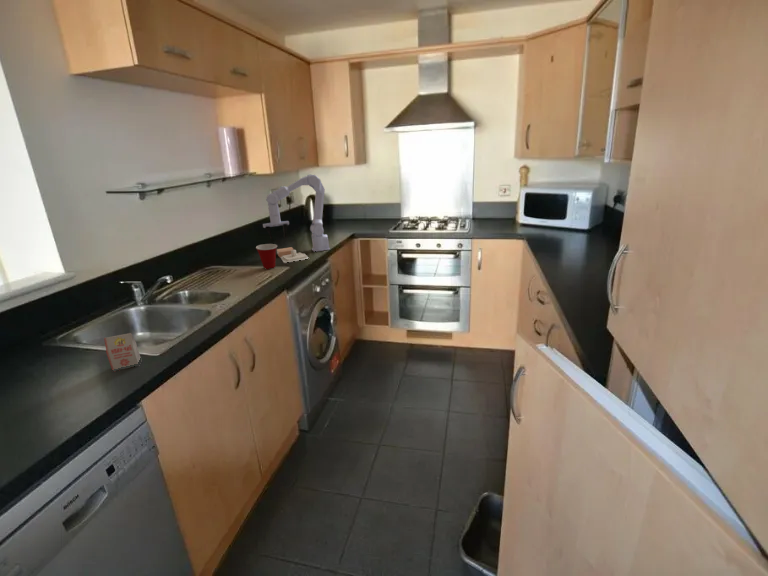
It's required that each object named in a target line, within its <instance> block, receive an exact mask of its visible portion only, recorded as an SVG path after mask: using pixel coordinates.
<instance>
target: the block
mask: <svg viewBox="0 0 768 576" xmlns="http://www.w3.org/2000/svg"><path fill="white" fill-rule="evenodd" d="M291 250H295V249H294V248H293V247H292V246H291V247H284V248H276V255H277V256H278V257H279V258H281V257H282V256H284V255H289V254H291Z"/></svg>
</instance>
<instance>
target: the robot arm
mask: <svg viewBox="0 0 768 576" xmlns="http://www.w3.org/2000/svg"><path fill="white" fill-rule="evenodd" d="M302 186H309V187H311V188H312V189H313V190H314V192H315V197H314V207H313V208H314V209H313V219H312V221H311V224H310V227H309V230H310V232H311V236H310V237H311V243H312V248H311V250H312V251H313V252H314V253H315V251H316V252H322V251H328V250H330V244H329V243H330V242H329V238H328V234H324V232H325V230H324V227H323V225H324V223H323V213H324V212H323V211H324V201H325V192H326V191H325V187H324V185H323V183H322V180H321V178H319V176H318V175H316V174H309V173H308V174H307V175H305V176H302V177H301V178H299V179H297V180H295V182H292V183H290V184H289V185H287V186H285V185H283V186H282V185H281V186H279V188H277V189H276V190H272V192H270V193H268V194H267V195H266V197H265V200H266V201H267V207H268V213H269V220H270V222H267V223H262V228H264V229H265V230H266V231H267V233H268V235H269V238H270V240H273V236H272V229H271V228H272V227H280V226H282V230H283V237H284V238H287V231H288V228H289V225H290V221H289V220H281V214H280V207H279V204H278V202H279V201H282V200H283V199H285V198H286V197H289V196H290V194H291V192H292V191H294V190H296V189H298V188H300V187H302Z"/></svg>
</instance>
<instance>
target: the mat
mask: <svg viewBox="0 0 768 576" xmlns="http://www.w3.org/2000/svg"><path fill="white" fill-rule="evenodd" d="M303 254H304V255H306V253H304V252H303ZM306 256H307V258H303V259H297V260H292V261H287V260H285V259H284V258H282V257H280V260H281V261H282V263H283V264H288V263H287V262H289V263H294V262H293V261H295V262H300V261H299V260H301V261H306V260H305V259H308V258H309V257H308V255H306ZM308 260H309V259H308Z"/></svg>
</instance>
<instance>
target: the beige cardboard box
mask: <svg viewBox="0 0 768 576" xmlns="http://www.w3.org/2000/svg"><path fill="white" fill-rule="evenodd" d="M103 340H104V345H105V352H106V356H107V360H108V362H109V365H110V368H111V371H112V370H114V369H118V368H121V367H126V366H130V365H134V364H138V362H139V360H140V358H141V359H142V357H141V355H140V351H139V348H138V345H137V342H136V340H135V338H134V336H133V334H132V333H131V332H129V333H124V334H118V335H114V336H113V335H112V336H107V337H104V339H103Z"/></svg>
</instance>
